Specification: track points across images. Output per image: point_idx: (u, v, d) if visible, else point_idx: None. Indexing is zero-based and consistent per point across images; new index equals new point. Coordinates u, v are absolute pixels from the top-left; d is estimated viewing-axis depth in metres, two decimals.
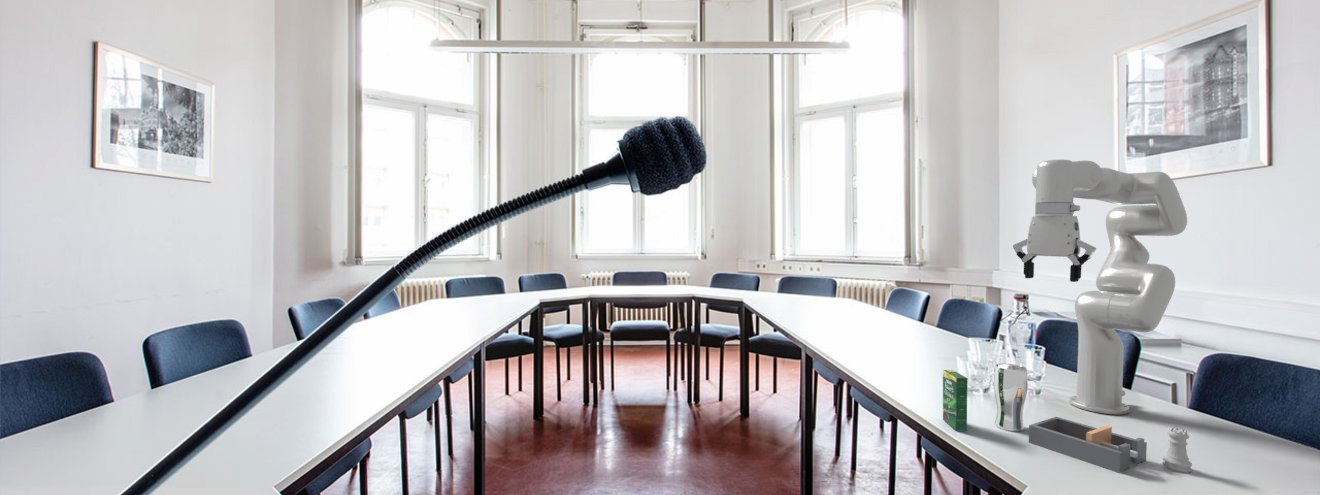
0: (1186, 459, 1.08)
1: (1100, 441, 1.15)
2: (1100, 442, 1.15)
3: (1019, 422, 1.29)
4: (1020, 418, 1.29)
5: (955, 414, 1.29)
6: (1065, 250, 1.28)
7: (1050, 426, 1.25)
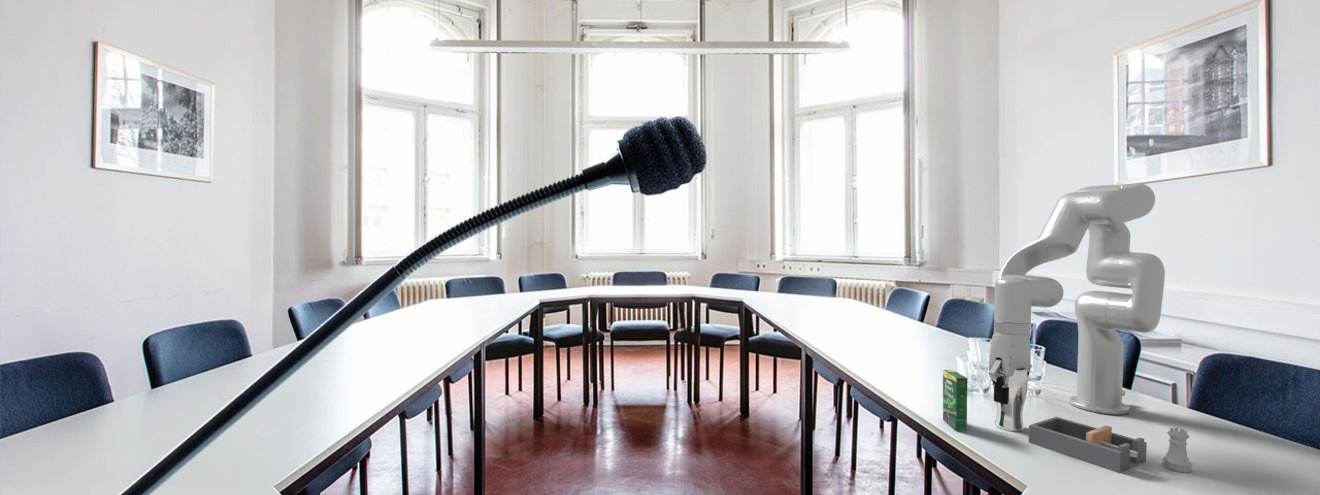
0: (1186, 459, 1.08)
1: (1100, 441, 1.15)
2: (1100, 442, 1.15)
3: (1019, 422, 1.29)
4: (1020, 418, 1.29)
5: (955, 414, 1.29)
6: (1028, 367, 1.31)
7: (1050, 426, 1.25)
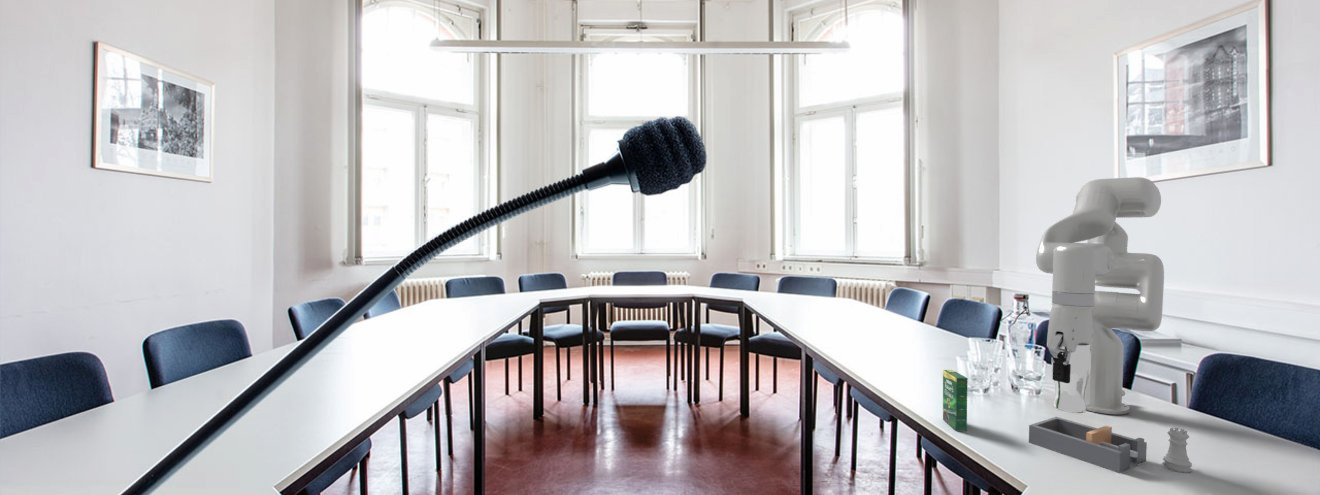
0: (1186, 459, 1.08)
1: (1100, 441, 1.15)
2: (1100, 442, 1.15)
3: (1081, 403, 1.17)
4: (1082, 398, 1.17)
5: (955, 414, 1.29)
6: (1090, 343, 1.19)
7: (1050, 426, 1.25)
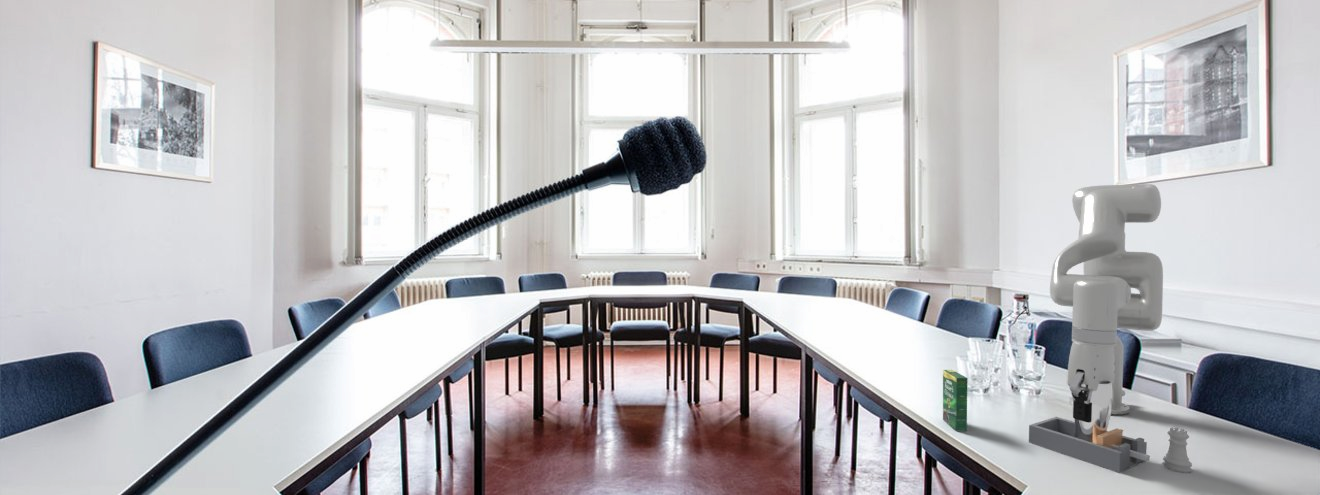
0: (1186, 459, 1.08)
1: (1111, 444, 1.13)
2: (1111, 445, 1.13)
3: None
4: None
5: (955, 414, 1.29)
6: (1112, 380, 1.16)
7: (1050, 426, 1.25)
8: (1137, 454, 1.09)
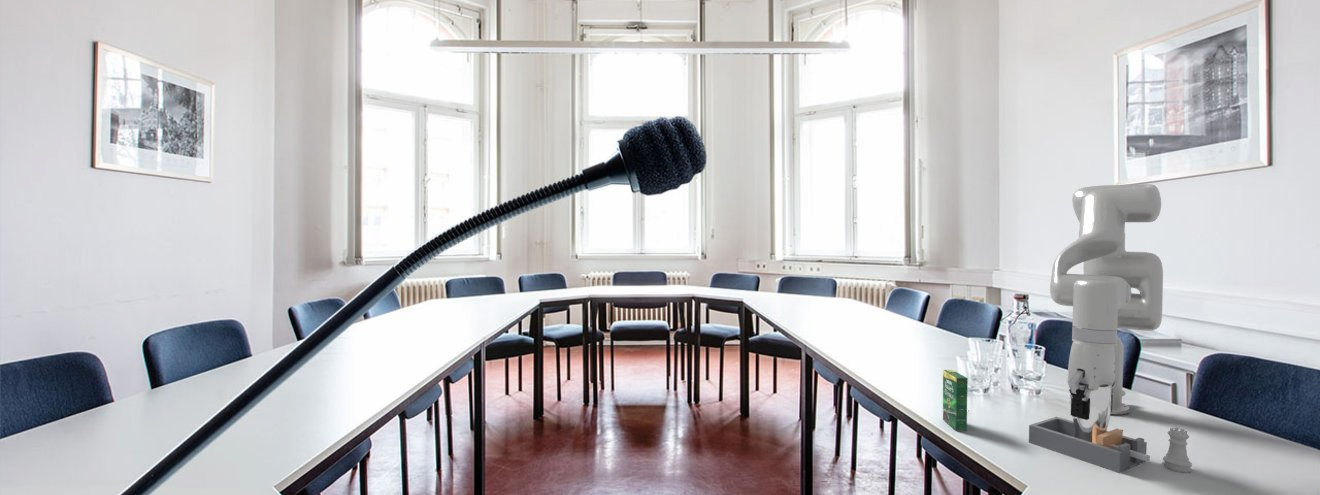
0: (1186, 459, 1.08)
1: (1111, 444, 1.13)
2: (1111, 445, 1.13)
3: None
4: None
5: (955, 414, 1.29)
6: (1112, 380, 1.16)
7: (1050, 426, 1.25)
8: (1137, 454, 1.09)
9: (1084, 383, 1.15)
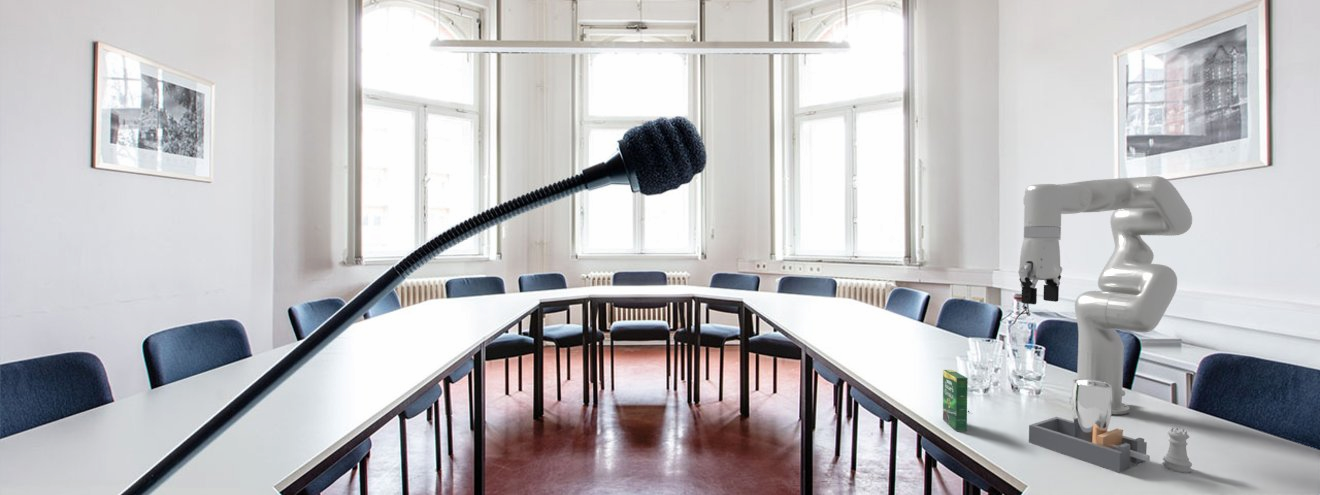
0: (1186, 459, 1.08)
1: (1111, 444, 1.13)
2: (1111, 445, 1.13)
3: None
4: None
5: (955, 414, 1.29)
6: (1057, 272, 1.34)
7: (1050, 426, 1.25)
8: (1137, 454, 1.09)
9: (1033, 274, 1.32)
